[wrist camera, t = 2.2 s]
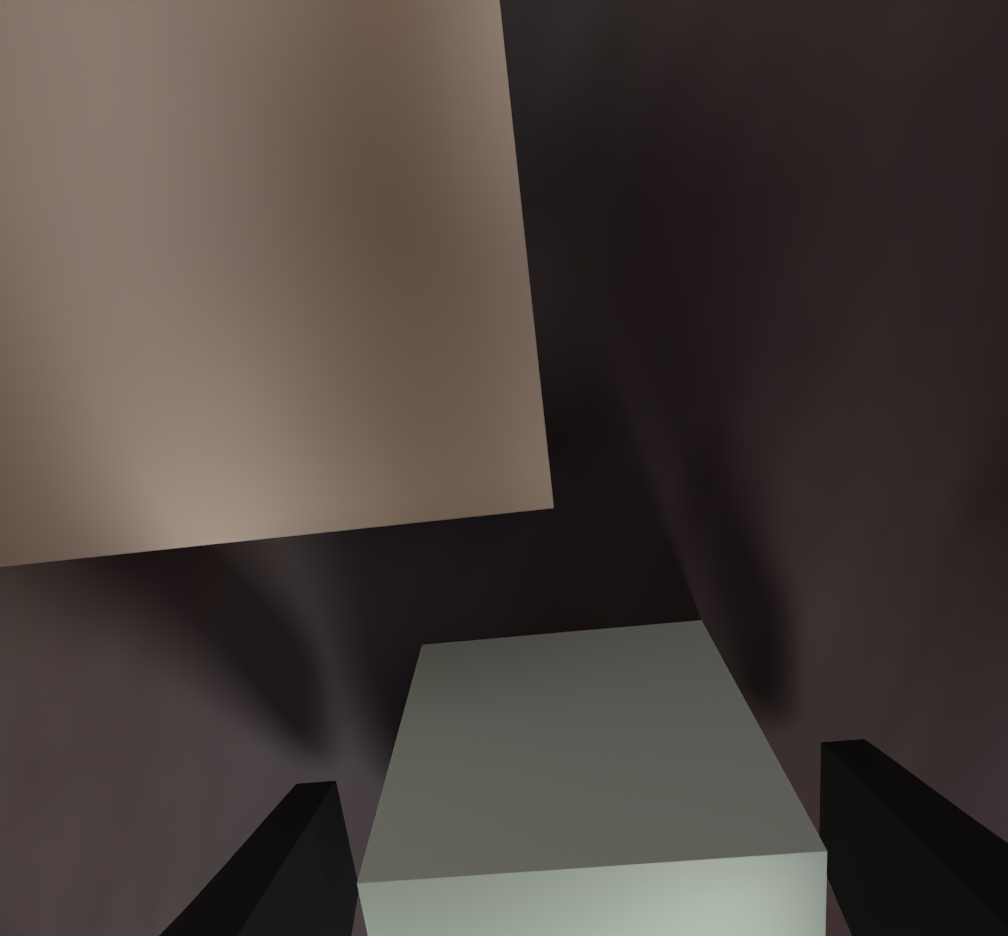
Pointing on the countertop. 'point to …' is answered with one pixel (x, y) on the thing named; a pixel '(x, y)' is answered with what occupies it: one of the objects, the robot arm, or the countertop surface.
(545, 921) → the sage cube
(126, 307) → the birch block
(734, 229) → the countertop surface
